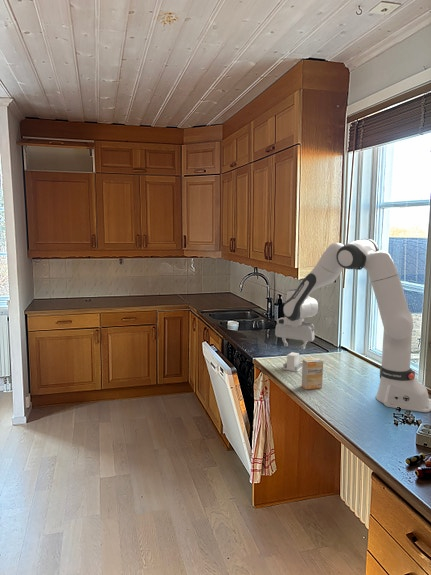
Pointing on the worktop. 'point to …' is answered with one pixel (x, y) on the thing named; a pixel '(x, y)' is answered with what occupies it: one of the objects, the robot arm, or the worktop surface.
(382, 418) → the worktop surface
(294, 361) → the block
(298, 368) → the rail plate
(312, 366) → the supplement box
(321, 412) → the worktop surface
